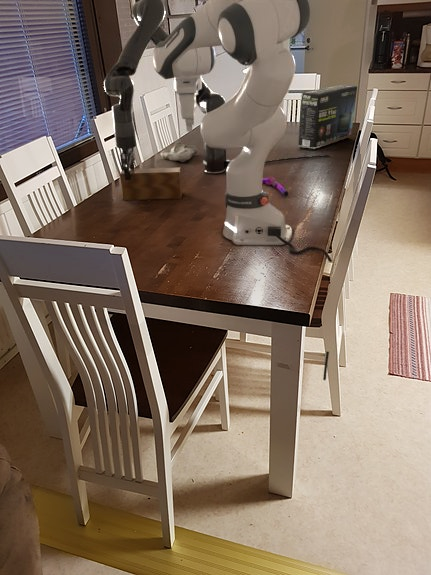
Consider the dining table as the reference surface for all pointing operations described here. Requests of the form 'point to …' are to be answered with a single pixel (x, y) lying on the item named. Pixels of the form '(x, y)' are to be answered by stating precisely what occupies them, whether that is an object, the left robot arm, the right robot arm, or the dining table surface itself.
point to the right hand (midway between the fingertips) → (190, 127)
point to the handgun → (275, 184)
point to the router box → (326, 115)
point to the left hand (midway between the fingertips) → (130, 176)
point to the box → (152, 184)
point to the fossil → (179, 152)
